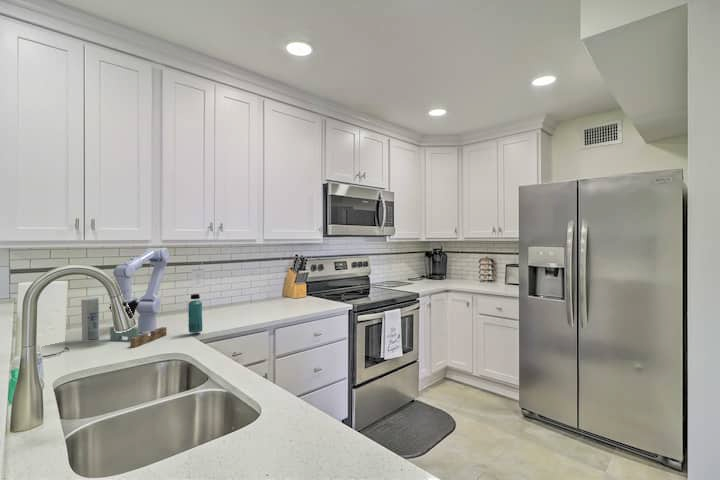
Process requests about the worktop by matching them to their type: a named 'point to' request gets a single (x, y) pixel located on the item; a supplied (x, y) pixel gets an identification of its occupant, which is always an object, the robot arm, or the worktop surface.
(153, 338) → the slotted board
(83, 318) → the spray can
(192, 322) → the beverage bottle
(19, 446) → the worktop surface
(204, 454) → the worktop surface
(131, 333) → the slotted plate
